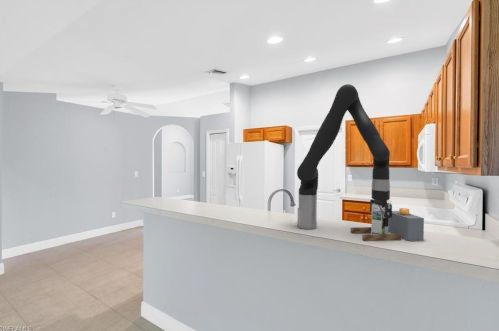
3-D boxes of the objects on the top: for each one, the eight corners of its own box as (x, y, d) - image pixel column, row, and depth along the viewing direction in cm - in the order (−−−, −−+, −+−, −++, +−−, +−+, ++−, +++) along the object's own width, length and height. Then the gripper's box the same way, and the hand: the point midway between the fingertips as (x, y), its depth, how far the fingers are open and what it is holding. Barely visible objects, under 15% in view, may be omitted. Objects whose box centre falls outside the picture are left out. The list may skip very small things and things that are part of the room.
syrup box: (370, 235, 123) (371, 204, 122) (375, 232, 127) (376, 202, 127) (383, 238, 119) (384, 205, 118) (388, 235, 123) (389, 204, 122)
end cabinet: (408, 241, 115) (408, 218, 115) (386, 231, 131) (386, 210, 131) (423, 240, 116) (423, 218, 116) (400, 230, 132) (400, 210, 132)
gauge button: (402, 218, 121) (402, 209, 121) (397, 216, 125) (397, 208, 125) (411, 218, 122) (411, 209, 121) (405, 216, 126) (405, 208, 125)
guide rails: (364, 241, 116) (364, 235, 116) (350, 232, 129) (350, 227, 129) (401, 240, 117) (401, 234, 117) (384, 231, 130) (384, 226, 130)
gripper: (365, 187, 129) (364, 220, 130) (381, 191, 115) (380, 228, 115) (379, 187, 130) (379, 220, 130) (398, 190, 115) (397, 228, 116)
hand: (380, 224), depth 123 cm, fingers closed on syrup box, 8 cm apart
